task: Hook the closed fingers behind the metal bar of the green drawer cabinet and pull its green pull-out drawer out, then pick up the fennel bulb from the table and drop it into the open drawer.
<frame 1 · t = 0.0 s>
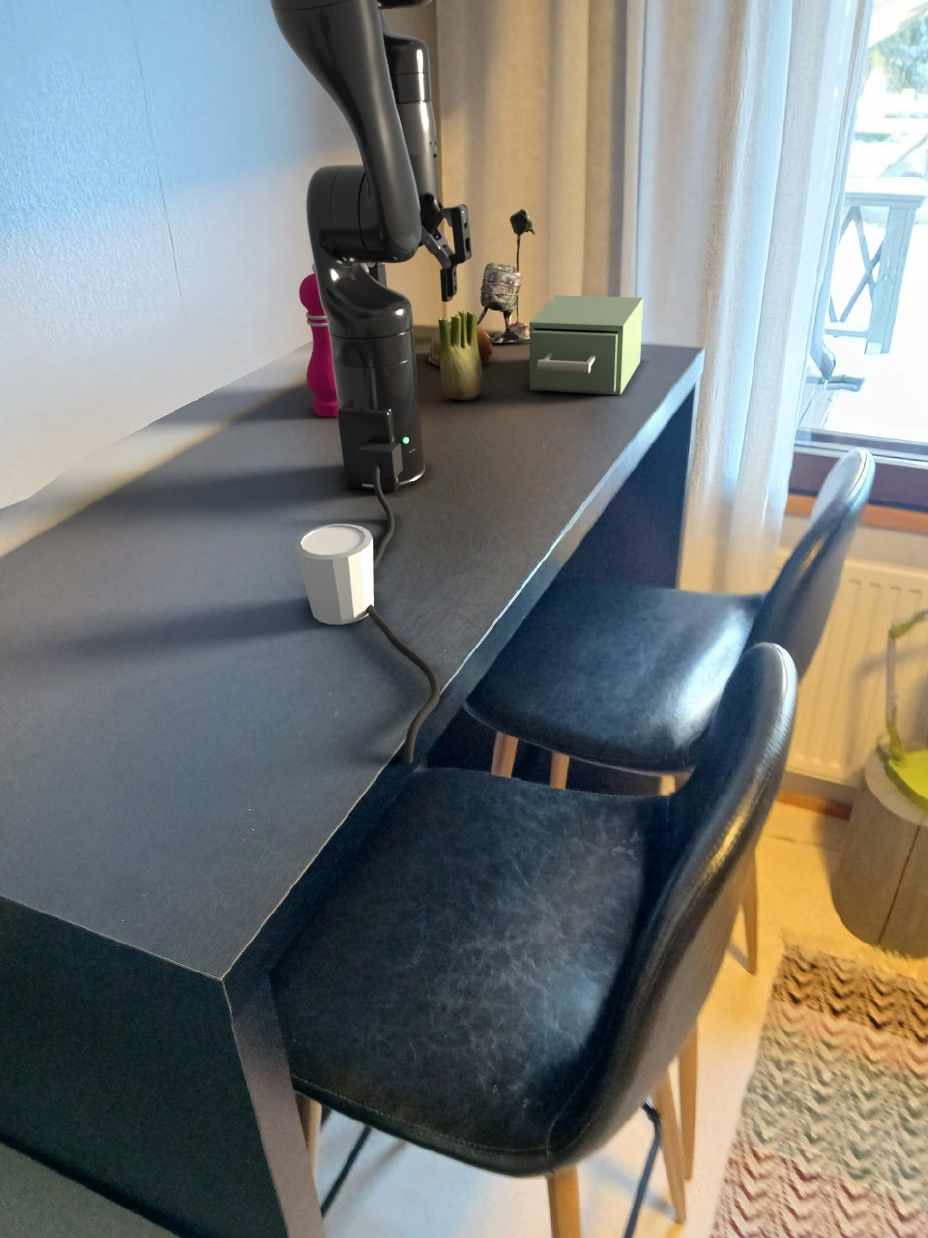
hand: (414, 299, 112), 17 cm above the table, tool pointing down, fingers open, 8 cm apart
fennel bulb: (462, 399, 133), on the table
shot glass: (343, 610, 85), on the table
grey irregular tall piece: (509, 340, 157), on the table
bread roll: (462, 361, 148), on the table
pepper mill: (337, 411, 131), on the table
green drawer cabinet: (586, 375, 138), on the table
green pull-out drawer: (579, 353, 132), point 5 cm above the table, slide at 0.6 cm
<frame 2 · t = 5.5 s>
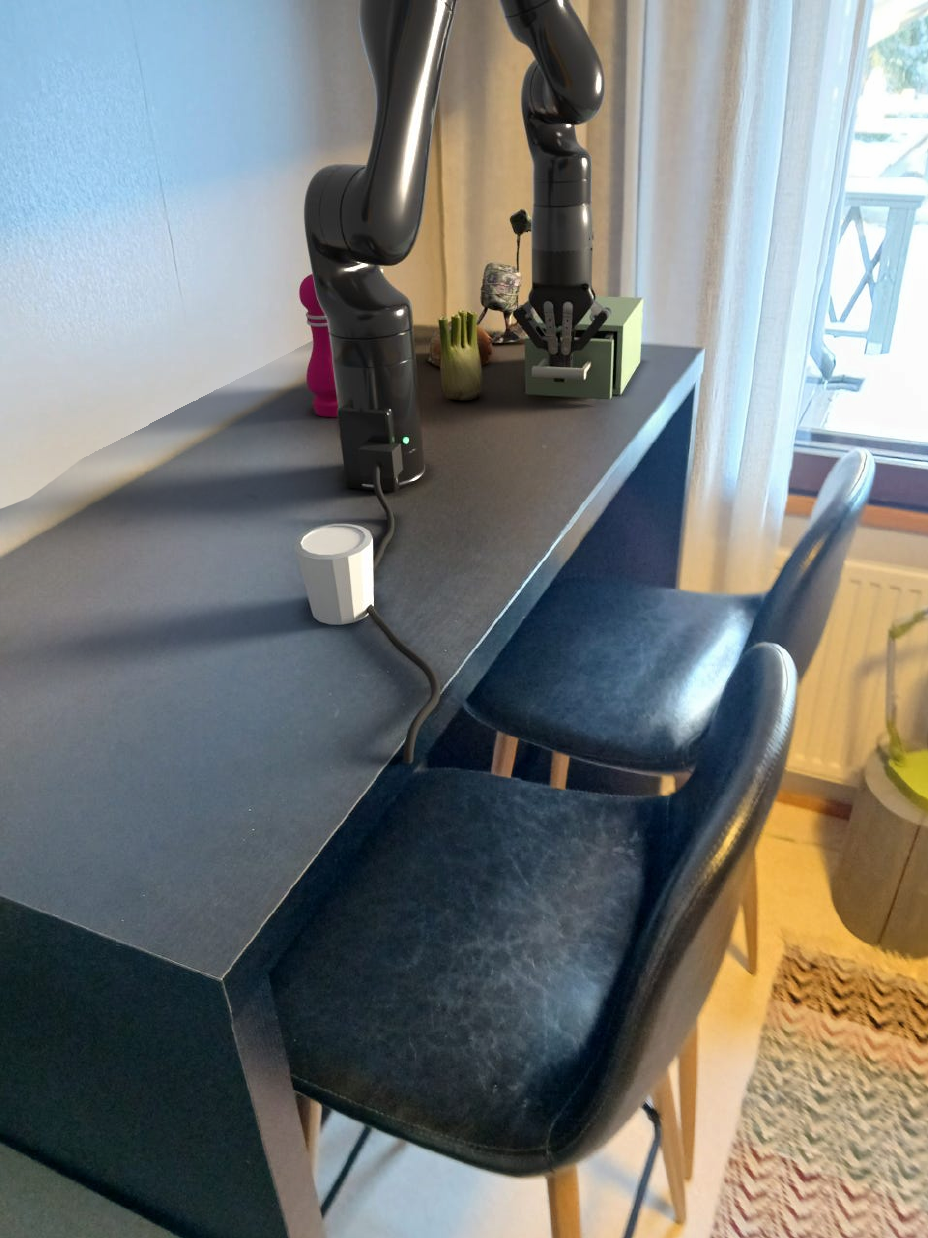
hand: (561, 380, 124), 4 cm above the table, tool pointing down, fingers closed
green pull-out drawer: (575, 358, 130), point 5 cm above the table, slide at 3.4 cm, touching gripper
everything else where it was.
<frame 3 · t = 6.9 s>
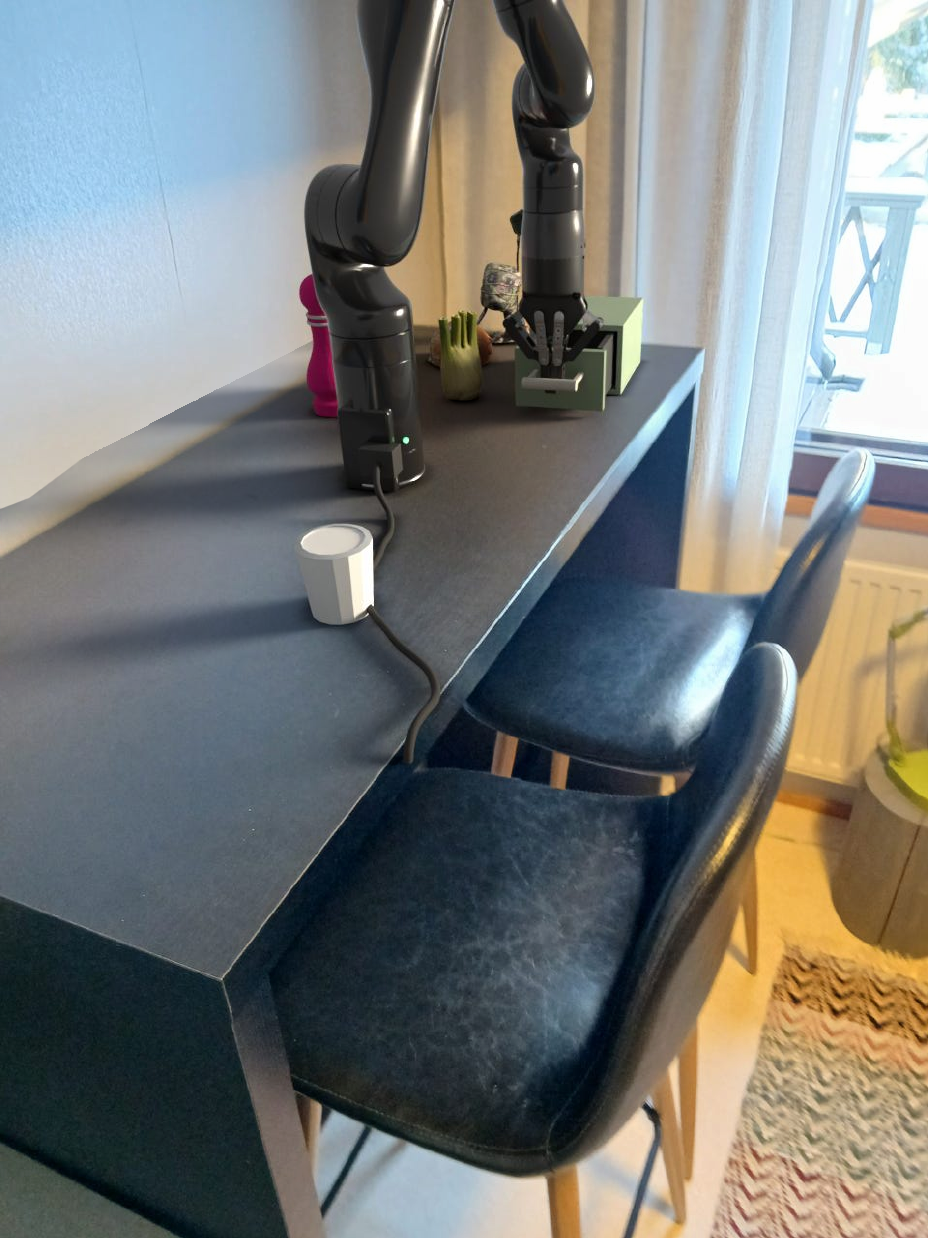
hand: (552, 391, 120), 4 cm above the table, tool pointing down, fingers closed
green pull-out drawer: (566, 369, 126), point 5 cm above the table, slide at 8.2 cm, touching gripper
everything else where it was.
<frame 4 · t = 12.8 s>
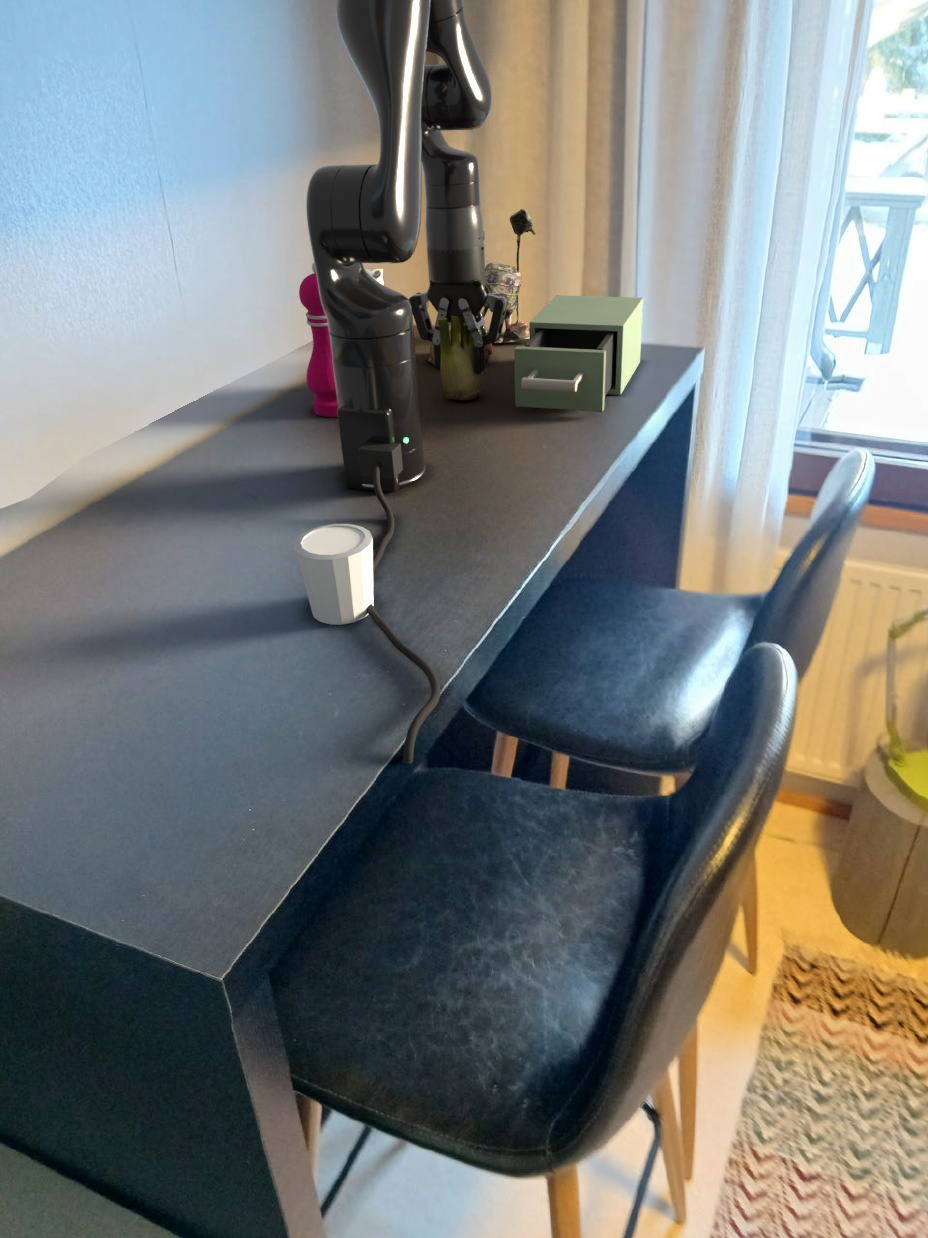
hand: (462, 370, 131), 4 cm above the table, tool pointing down, fingers closed on fennel bulb, 4 cm apart
fennel bulb: (462, 399, 133), on the table, touching gripper
green pull-out drawer: (566, 369, 126), point 5 cm above the table, slide at 8.4 cm
everything else where it was.
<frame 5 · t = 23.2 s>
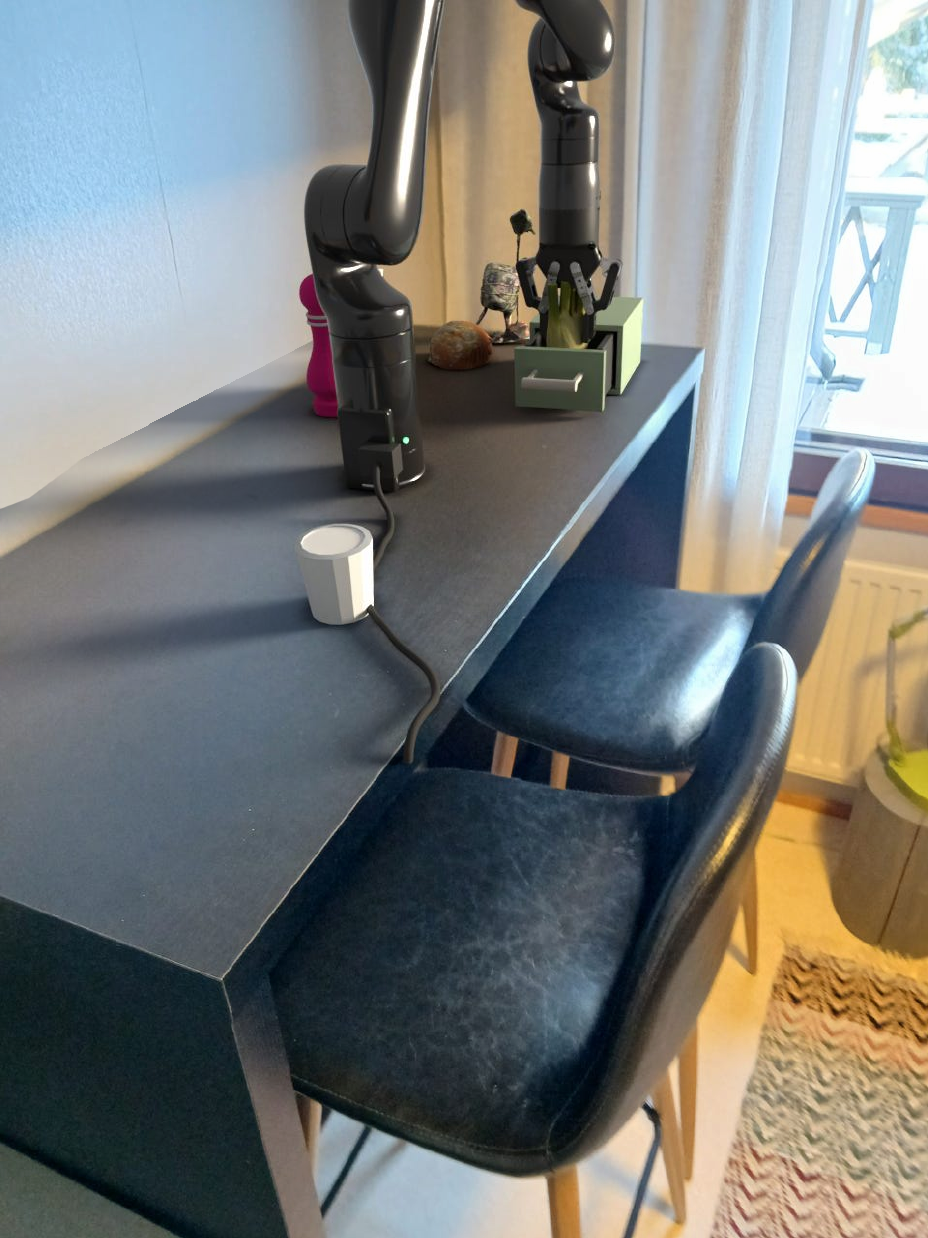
hand: (567, 340, 124), 9 cm above the table, tool pointing down, fingers closed on fennel bulb, 4 cm apart
fennel bulb: (566, 370, 127), point 4 cm above the table, touching gripper
everything else where it was.
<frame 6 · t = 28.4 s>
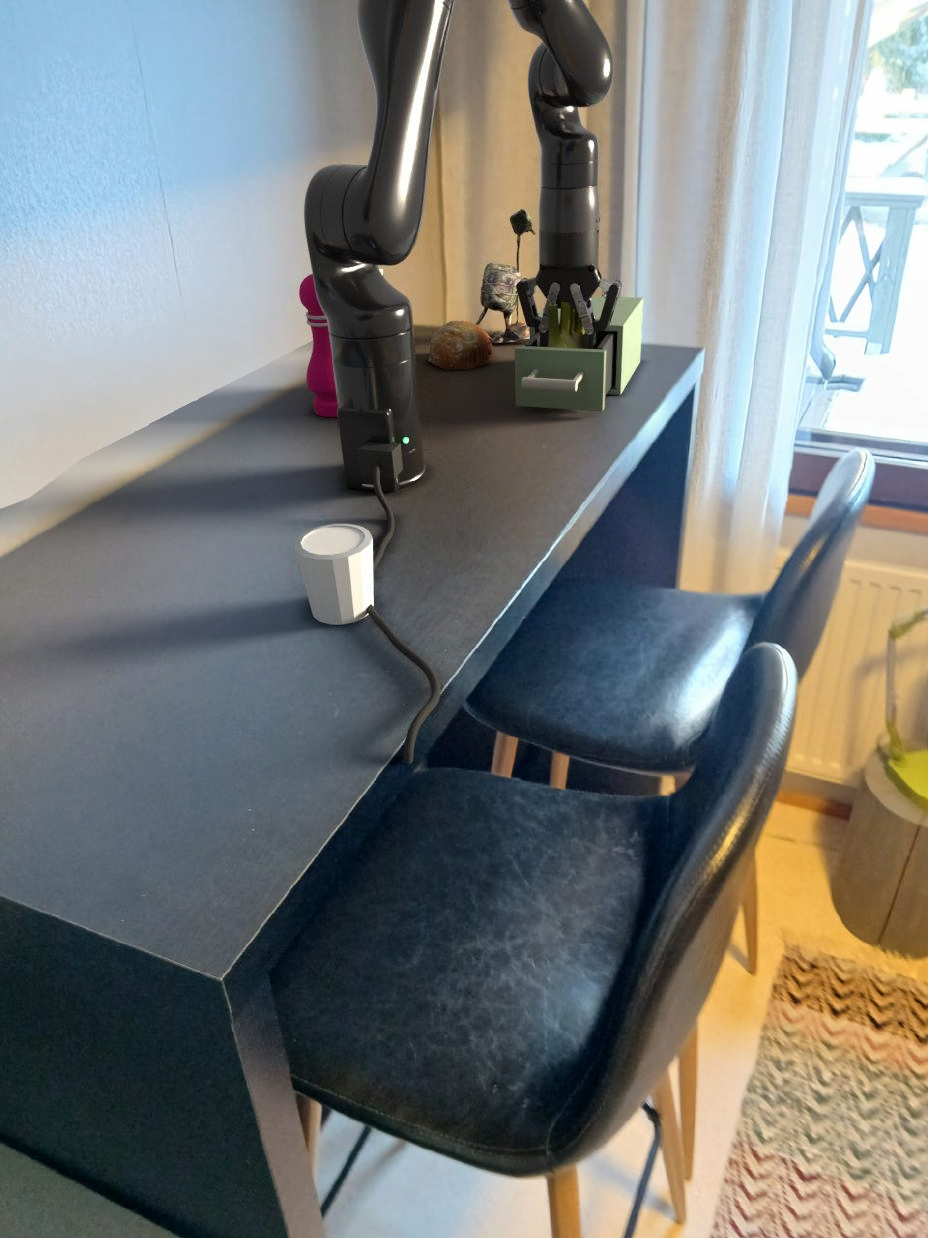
hand: (567, 359, 126), 6 cm above the table, tool pointing down, fingers closed on fennel bulb, 4 cm apart
fennel bulb: (567, 389, 128), point 2 cm above the table, touching green pull-out drawer, gripper
green pull-out drawer: (566, 369, 126), point 5 cm above the table, slide at 8.2 cm, touching fennel bulb
everything else where it was.
when the fingers open (9 cm above the table, at t = 33.6 s): fennel bulb drops 3 cm, resting on green pull-out drawer.
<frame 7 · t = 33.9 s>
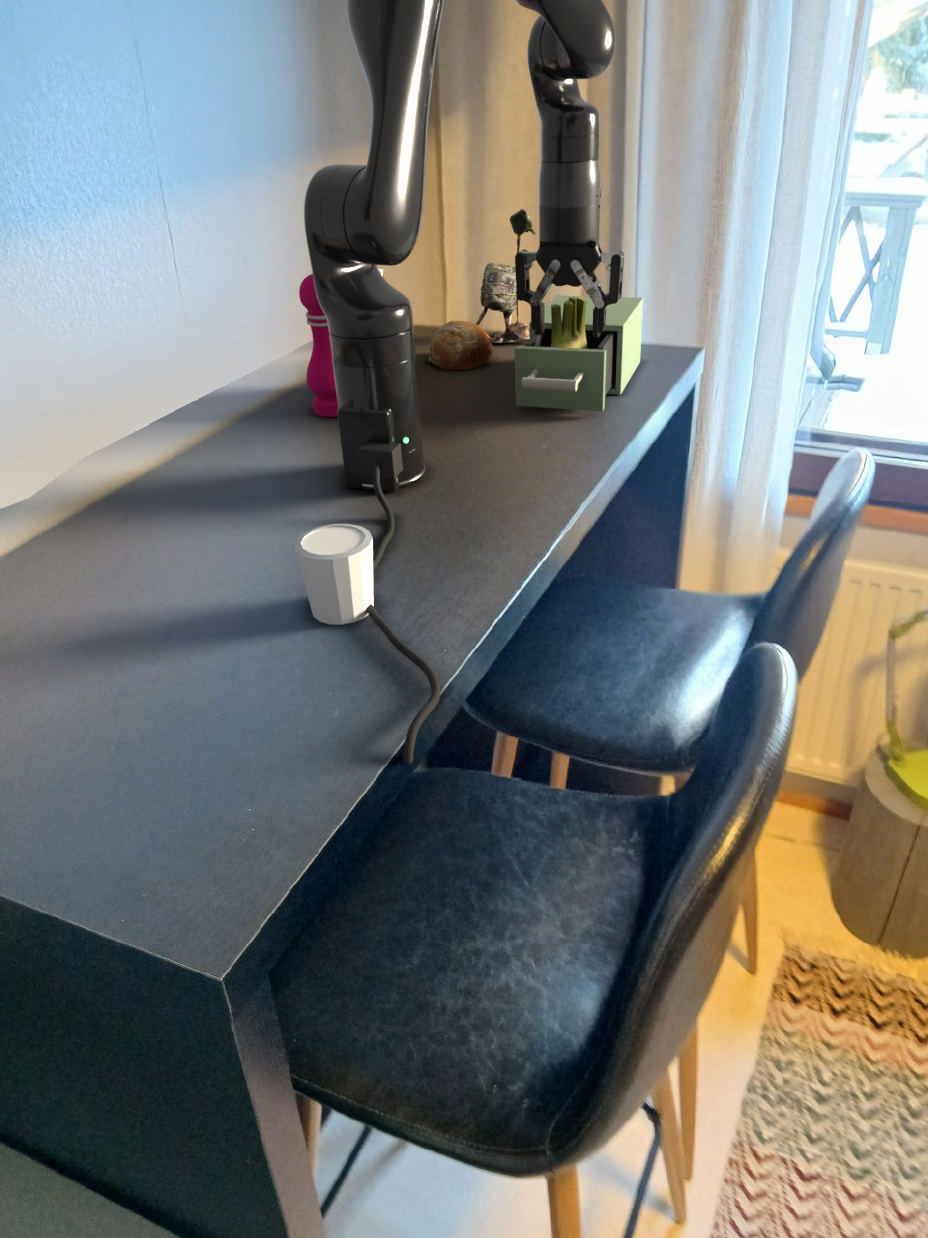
hand: (568, 334, 124), 9 cm above the table, tool pointing down, fingers open, 7 cm apart
fennel bulb: (568, 389, 128), point 2 cm above the table, touching green pull-out drawer
everything else where it was.
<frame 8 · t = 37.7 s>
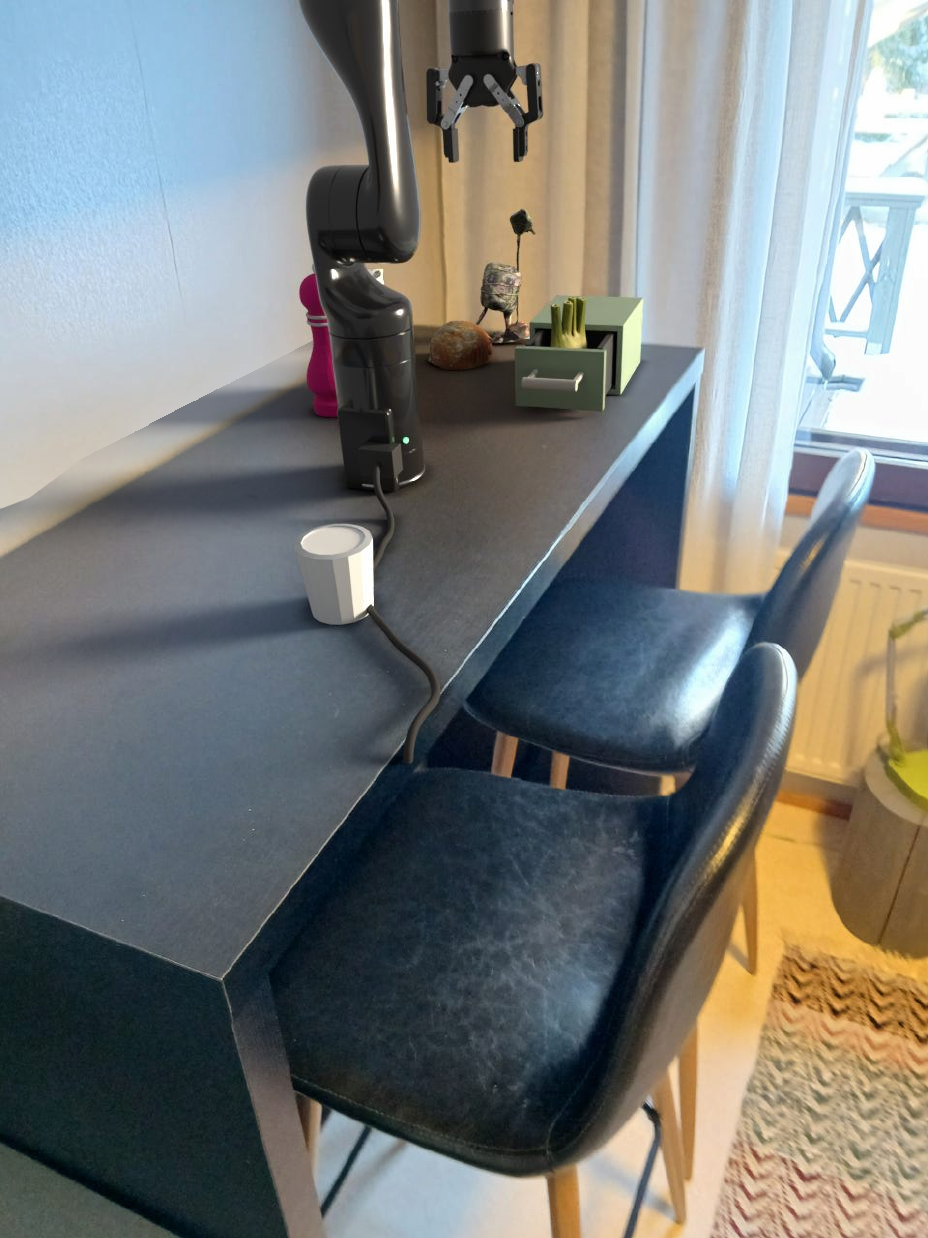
hand: (486, 161, 117), 30 cm above the table, tool pointing down, fingers open, 8 cm apart
nothing on the table moved.
at the end: green pull-out drawer slide at 8.2 cm; fennel bulb inside the target area in the green pull-out drawer (0.1 cm from its centre), point 1.8 cm above the green drawer cabinet's base; the gripper is holding nothing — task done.
